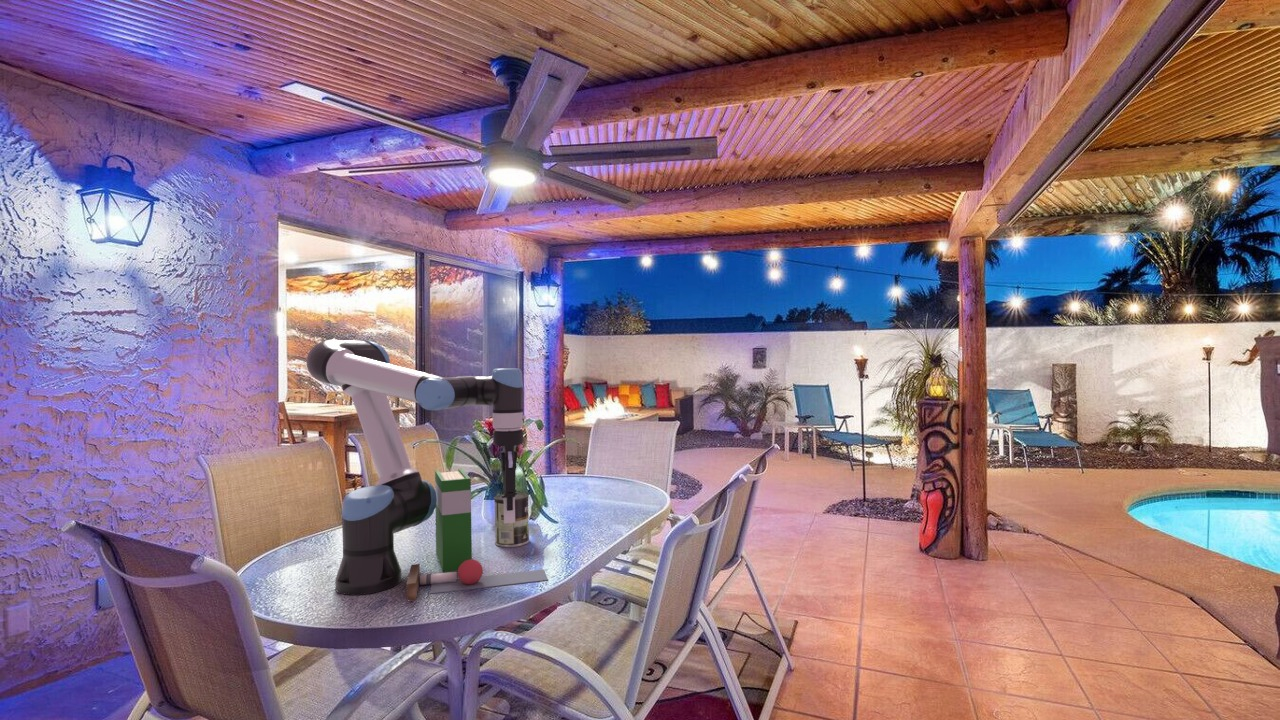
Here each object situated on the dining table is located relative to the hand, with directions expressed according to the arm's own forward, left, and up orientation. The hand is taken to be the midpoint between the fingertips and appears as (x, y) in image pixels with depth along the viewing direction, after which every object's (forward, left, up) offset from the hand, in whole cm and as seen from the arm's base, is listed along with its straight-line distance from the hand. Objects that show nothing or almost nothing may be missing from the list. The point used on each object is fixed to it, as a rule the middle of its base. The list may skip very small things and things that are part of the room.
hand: (509, 522), depth 154 cm
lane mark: (-5, 0, -14) cm, 15 cm away
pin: (-13, +3, -13) cm, 19 cm away
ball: (-10, 0, -11) cm, 15 cm away
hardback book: (-14, +20, -15) cm, 29 cm away
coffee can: (+3, +32, -15) cm, 35 cm away
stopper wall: (-23, 0, -14) cm, 27 cm away
